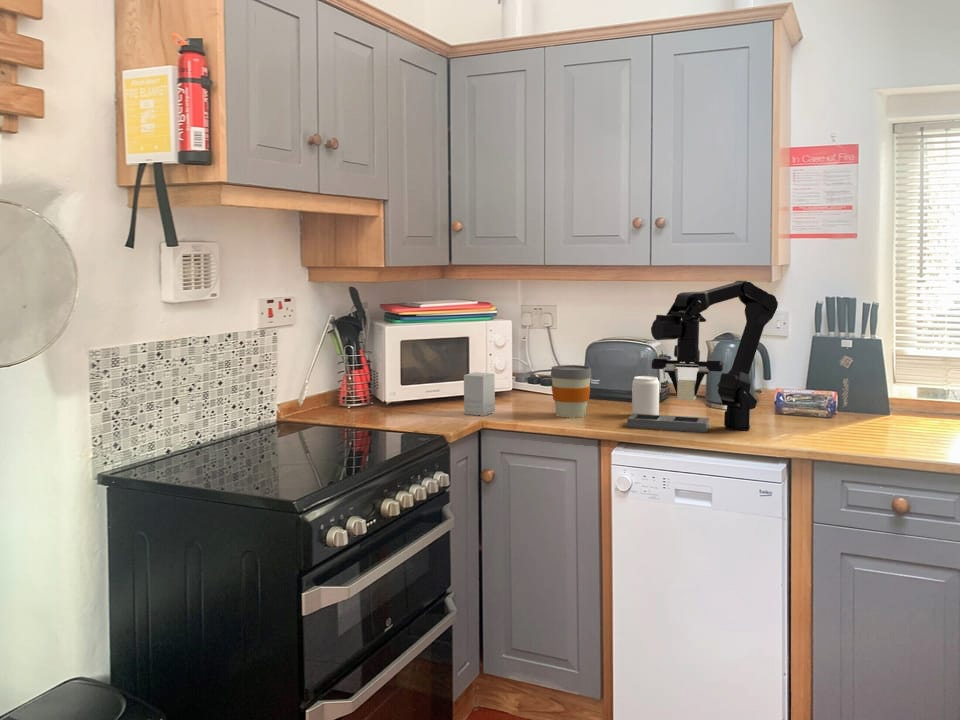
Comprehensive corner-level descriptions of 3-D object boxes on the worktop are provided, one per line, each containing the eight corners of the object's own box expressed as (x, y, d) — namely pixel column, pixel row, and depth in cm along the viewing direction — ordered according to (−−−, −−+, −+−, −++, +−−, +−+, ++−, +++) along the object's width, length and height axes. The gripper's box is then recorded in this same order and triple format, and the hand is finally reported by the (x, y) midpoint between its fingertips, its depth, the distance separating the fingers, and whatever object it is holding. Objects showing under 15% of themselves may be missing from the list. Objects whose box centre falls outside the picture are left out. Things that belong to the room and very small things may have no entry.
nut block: (695, 398, 233) (696, 380, 233) (693, 400, 229) (694, 382, 228) (679, 397, 235) (679, 379, 234) (677, 399, 231) (677, 381, 230)
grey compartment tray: (709, 426, 243) (709, 417, 243) (705, 432, 235) (706, 423, 234) (632, 421, 251) (632, 413, 250) (627, 427, 242) (627, 418, 242)
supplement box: (495, 412, 267) (495, 373, 265) (483, 416, 261) (482, 376, 259) (476, 410, 271) (475, 371, 269) (463, 414, 264) (463, 374, 263)
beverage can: (658, 419, 255) (659, 379, 253) (631, 418, 256) (632, 379, 255) (658, 414, 262) (659, 376, 261) (632, 413, 264) (632, 375, 263)
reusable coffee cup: (570, 420, 253) (571, 371, 251) (542, 415, 262) (542, 367, 261) (599, 415, 260) (600, 367, 259) (570, 410, 270) (571, 363, 268)
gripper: (725, 337, 234) (724, 392, 236) (658, 335, 241) (656, 389, 243) (722, 340, 224) (720, 398, 226) (651, 338, 230) (650, 395, 232)
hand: (686, 395), depth 232 cm, fingers closed on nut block, 4 cm apart
